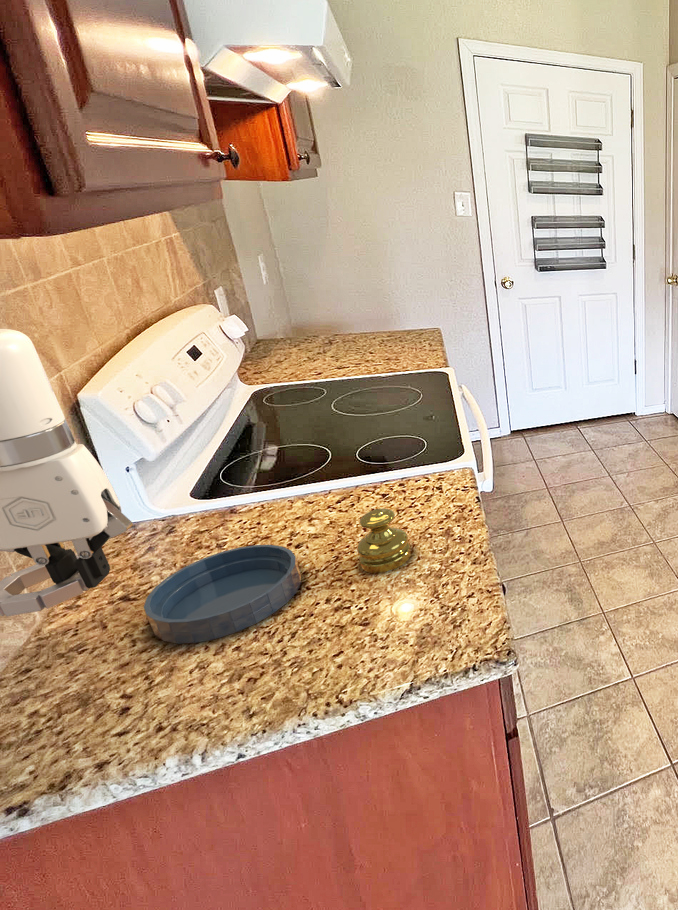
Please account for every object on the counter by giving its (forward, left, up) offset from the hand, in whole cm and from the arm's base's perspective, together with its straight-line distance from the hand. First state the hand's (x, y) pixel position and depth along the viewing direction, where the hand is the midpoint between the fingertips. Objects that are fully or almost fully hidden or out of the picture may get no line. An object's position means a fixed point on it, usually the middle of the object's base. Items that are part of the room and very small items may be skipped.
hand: (85, 581), depth 68 cm
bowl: (+7, +12, -15) cm, 20 cm away
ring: (-3, 0, 0) cm, 3 cm away
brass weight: (+27, +16, -15) cm, 35 cm away
